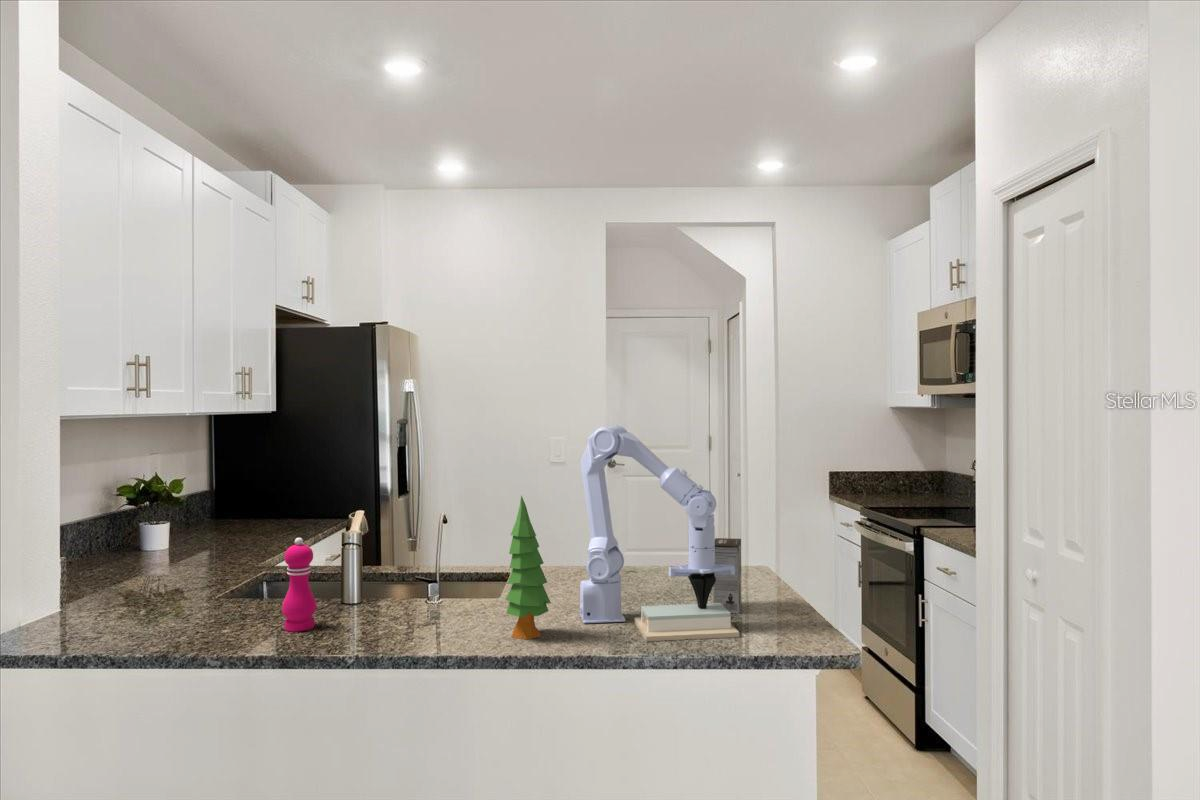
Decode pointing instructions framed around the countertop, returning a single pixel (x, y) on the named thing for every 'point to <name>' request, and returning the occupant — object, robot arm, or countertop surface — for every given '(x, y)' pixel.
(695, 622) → the duct base
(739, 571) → the coffee box
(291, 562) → the pepper mill
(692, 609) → the panel
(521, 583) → the decorative tree
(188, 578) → the countertop surface
